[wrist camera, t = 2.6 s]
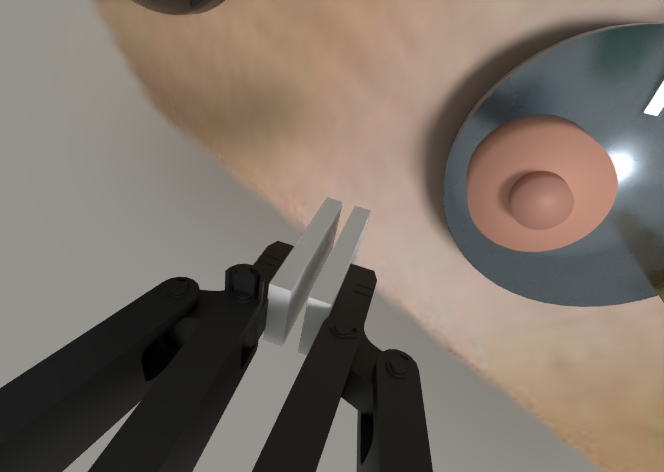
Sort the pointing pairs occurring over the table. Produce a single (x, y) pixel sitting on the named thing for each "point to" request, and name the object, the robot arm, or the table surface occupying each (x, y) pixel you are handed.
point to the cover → (539, 183)
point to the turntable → (612, 135)
